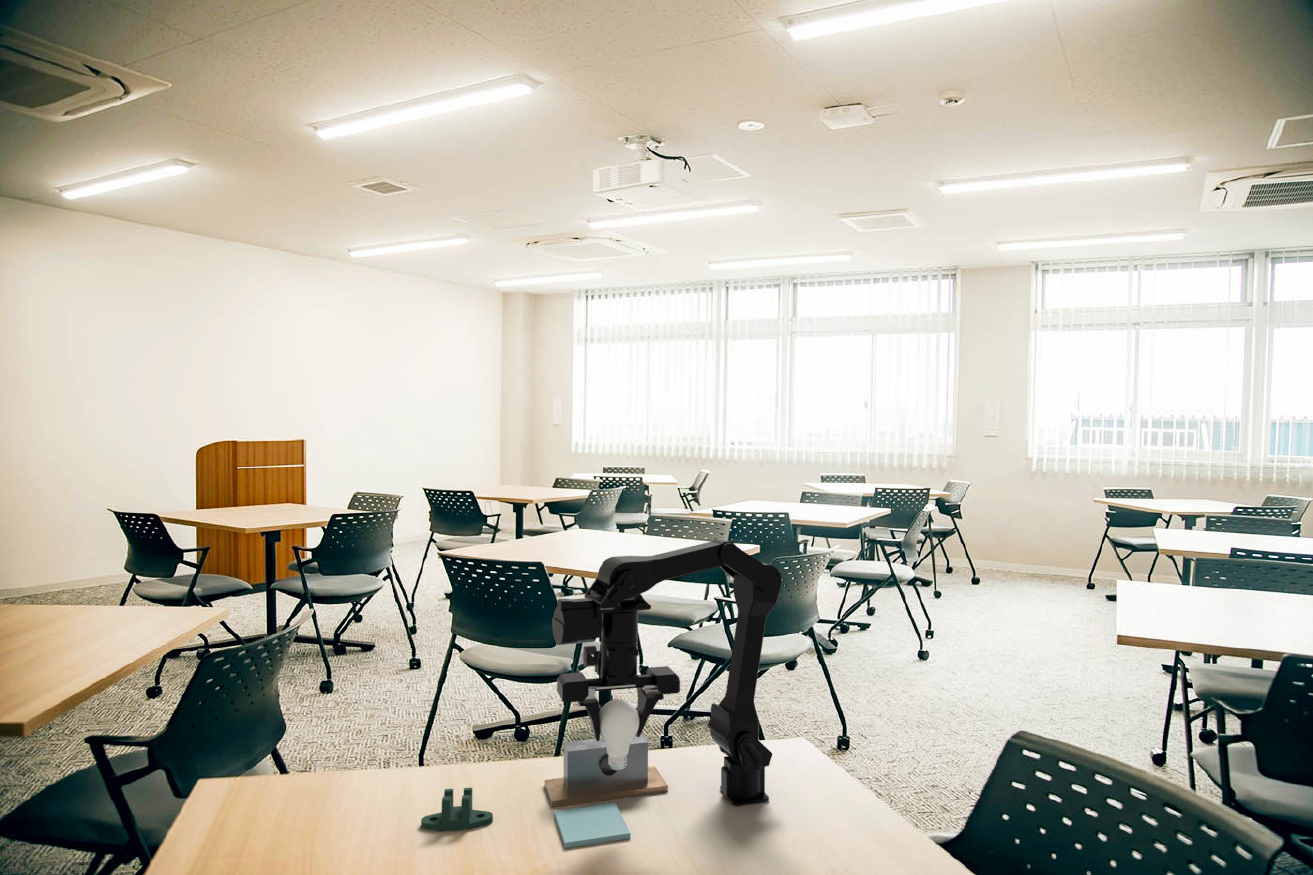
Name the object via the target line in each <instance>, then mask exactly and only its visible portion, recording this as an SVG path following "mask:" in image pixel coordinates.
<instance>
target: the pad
mask: <svg viewBox="0 0 1313 875" xmlns="http://www.w3.org/2000/svg"><path fill="white" fill-rule="evenodd" d="M553 814H554V815H553V817H554V819H555V822H556V825H557V829H558V831H559V834H560V838H561V841H562V843H563V847H564V848H565V849H569V848H575V847H576V848H577V847H583V846H589V845H595V844H596V845H597V844H601V843H608V842H614V841H615V842H616V841H621V840H629V839H631V831H630V829H629V827H628V825H627V823H626V821H625V819H624V817H623V815H622V814H621V811H620V809H619V807H618V806H617V803H616V802H610V803H602V804H596V805H595V804H594V805H587V806H580V807H574V808H566V809H560V810H559V809H558V810H554V813H553Z"/></svg>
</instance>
